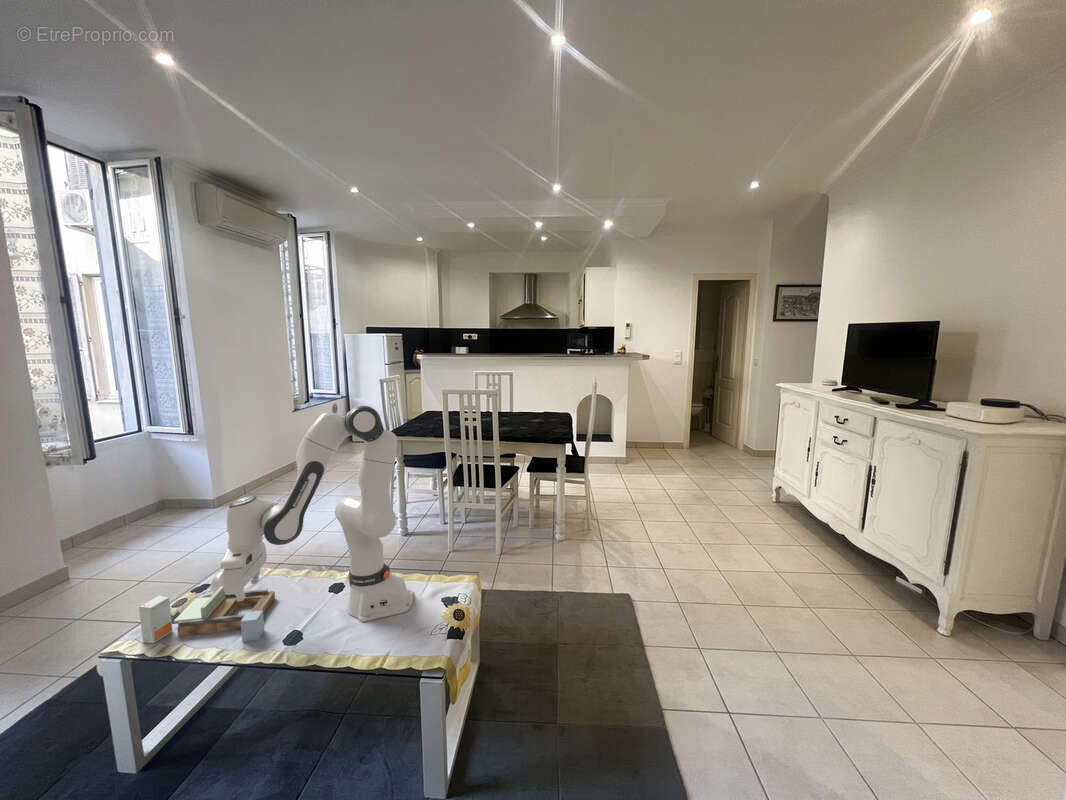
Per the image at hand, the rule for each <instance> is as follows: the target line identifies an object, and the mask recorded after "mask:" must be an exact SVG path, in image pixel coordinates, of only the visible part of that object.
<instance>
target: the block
mask: <svg viewBox="0 0 1066 800" xmlns="http://www.w3.org/2000/svg"><path fill="white" fill-rule="evenodd" d="M240 631H241V641H242V643H244V642H252V641H259V639H260V638H261V636H262V635H263V633H264V631H265V622H264V616H263V611H253V612H251V611H246V613H245V616H244V617H243V619H242V620H241V629H240Z"/></svg>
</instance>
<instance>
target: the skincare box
mask: <svg viewBox="0 0 1066 800" xmlns="http://www.w3.org/2000/svg"><path fill="white" fill-rule="evenodd" d="M138 608H139V609H138V610H139V617H140V618H139V620H140V628H141V638H142V642H143V643H148V644H151V645H153V644H155V643H156V642H158V641H159V640H161V639H163V638H164V637H166V636H167V635H169V634H171V633H173V622H172V612H171V601H170V596H163V595H158V596H156V597H154V598H152V599H150V600H149V601H146V602H145V603H144V604H142V605H140V606H139V607H138Z"/></svg>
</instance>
